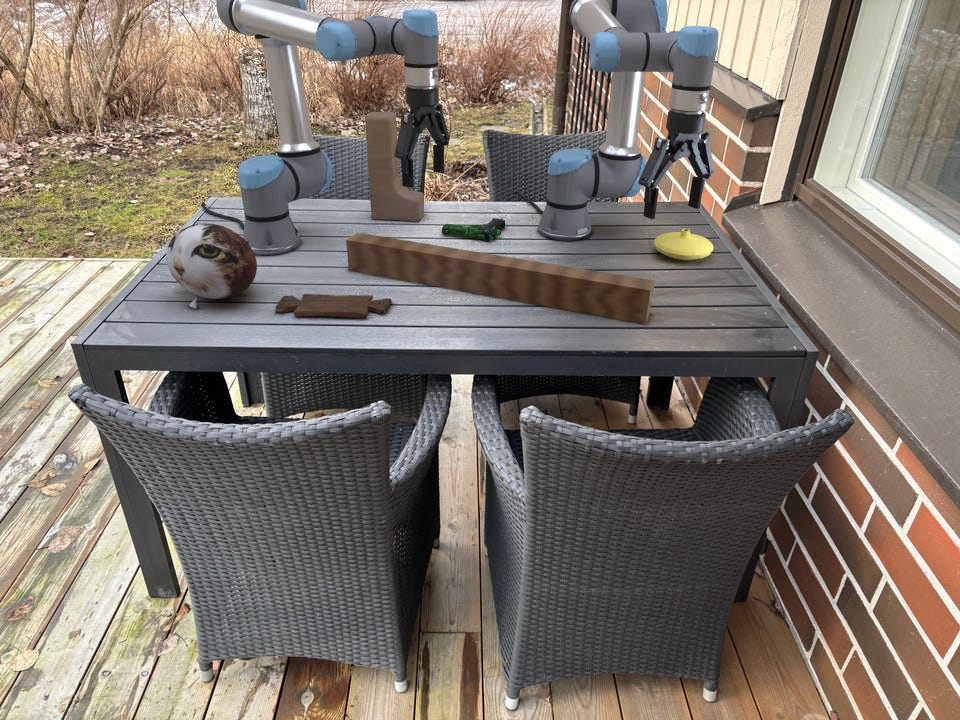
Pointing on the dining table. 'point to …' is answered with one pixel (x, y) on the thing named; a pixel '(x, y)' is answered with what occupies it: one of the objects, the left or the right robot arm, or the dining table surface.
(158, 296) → the dining table surface
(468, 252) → the bar
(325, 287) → the dining table surface
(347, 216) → the dining table surface
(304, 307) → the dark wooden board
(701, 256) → the vase
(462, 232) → the handgun
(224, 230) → the cat face balloon
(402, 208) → the decorative block
